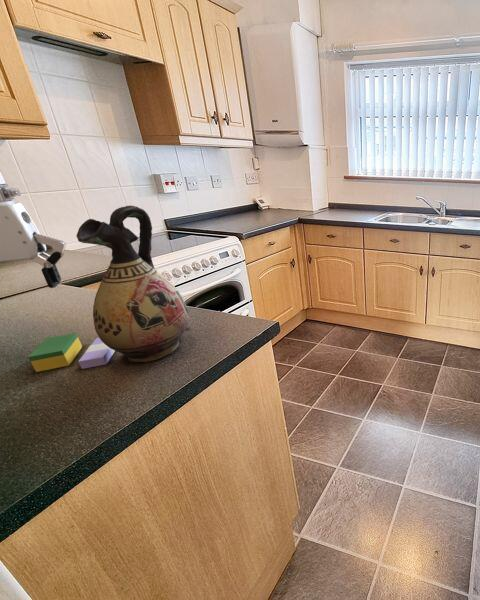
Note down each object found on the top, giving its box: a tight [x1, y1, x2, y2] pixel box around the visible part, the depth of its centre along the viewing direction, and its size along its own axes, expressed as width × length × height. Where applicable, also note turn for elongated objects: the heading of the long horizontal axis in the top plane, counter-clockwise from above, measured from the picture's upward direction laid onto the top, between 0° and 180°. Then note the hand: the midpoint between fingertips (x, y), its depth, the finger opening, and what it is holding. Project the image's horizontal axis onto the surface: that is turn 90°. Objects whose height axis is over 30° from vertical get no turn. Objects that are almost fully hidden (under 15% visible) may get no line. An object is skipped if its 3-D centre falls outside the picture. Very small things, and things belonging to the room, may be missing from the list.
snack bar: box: [77, 337, 116, 370], centre depth 71 cm, size 10×4×2 cm, turn 24°
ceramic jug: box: [76, 205, 190, 363], centre depth 67 cm, size 17×15×30 cm
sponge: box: [27, 332, 83, 373], centre depth 69 cm, size 8×5×4 cm, turn 26°
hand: (21, 289), depth 64 cm, fingers open, 9 cm apart
